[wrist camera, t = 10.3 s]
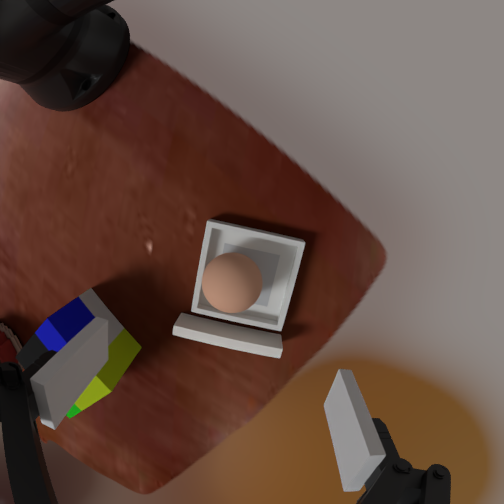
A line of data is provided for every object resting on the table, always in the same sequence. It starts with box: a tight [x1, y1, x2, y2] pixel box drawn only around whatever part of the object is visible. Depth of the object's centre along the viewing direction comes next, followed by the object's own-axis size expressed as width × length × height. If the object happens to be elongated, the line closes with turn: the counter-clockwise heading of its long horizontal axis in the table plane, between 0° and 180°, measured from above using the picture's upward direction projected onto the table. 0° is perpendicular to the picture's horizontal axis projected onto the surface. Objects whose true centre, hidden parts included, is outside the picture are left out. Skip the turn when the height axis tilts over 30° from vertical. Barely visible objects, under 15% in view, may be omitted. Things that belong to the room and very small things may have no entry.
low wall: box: [173, 313, 283, 358], centre depth 34 cm, size 1×12×4 cm, turn 77°
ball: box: [202, 252, 263, 313], centre depth 31 cm, size 6×6×6 cm
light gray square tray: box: [191, 219, 305, 331], centre depth 34 cm, size 10×10×2 cm
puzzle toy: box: [15, 288, 142, 418], centre depth 32 cm, size 10×10×10 cm
